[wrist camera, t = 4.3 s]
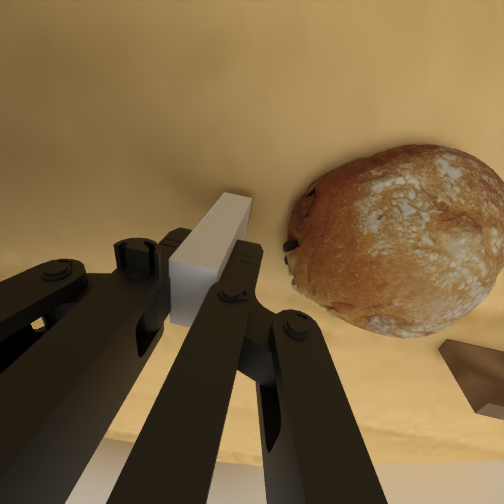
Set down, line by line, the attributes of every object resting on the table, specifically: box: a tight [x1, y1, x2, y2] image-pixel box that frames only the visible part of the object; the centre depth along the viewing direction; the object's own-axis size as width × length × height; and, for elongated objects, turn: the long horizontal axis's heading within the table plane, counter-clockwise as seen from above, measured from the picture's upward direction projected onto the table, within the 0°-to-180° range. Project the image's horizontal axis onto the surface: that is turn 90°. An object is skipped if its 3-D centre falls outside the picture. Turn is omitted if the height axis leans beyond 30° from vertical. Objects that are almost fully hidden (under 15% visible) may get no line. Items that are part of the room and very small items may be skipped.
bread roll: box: [283, 145, 504, 339], centre depth 13 cm, size 10×10×8 cm
